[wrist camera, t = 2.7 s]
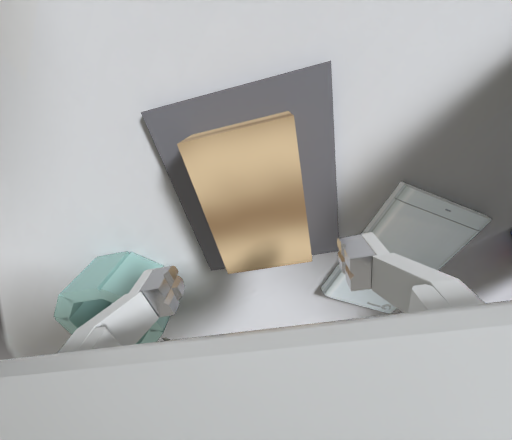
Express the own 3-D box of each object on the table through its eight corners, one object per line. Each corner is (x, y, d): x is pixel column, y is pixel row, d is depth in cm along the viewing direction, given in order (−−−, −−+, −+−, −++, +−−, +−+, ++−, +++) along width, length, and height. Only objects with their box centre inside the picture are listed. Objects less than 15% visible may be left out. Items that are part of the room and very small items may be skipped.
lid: (191, 134, 15) (176, 143, 12) (288, 110, 14) (293, 115, 11) (232, 249, 20) (228, 274, 17) (305, 237, 19) (312, 261, 16)
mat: (144, 111, 15) (140, 112, 14) (328, 62, 13) (331, 60, 12) (212, 266, 21) (211, 270, 21) (337, 246, 20) (339, 250, 19)
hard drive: (392, 315, 23) (496, 221, 17) (323, 296, 22) (409, 186, 16) (384, 302, 24) (478, 211, 18) (319, 283, 23) (397, 178, 17)
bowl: (73, 261, 22) (31, 298, 18) (154, 246, 20) (128, 283, 17) (120, 316, 26) (95, 355, 22) (189, 307, 25) (175, 347, 21)
